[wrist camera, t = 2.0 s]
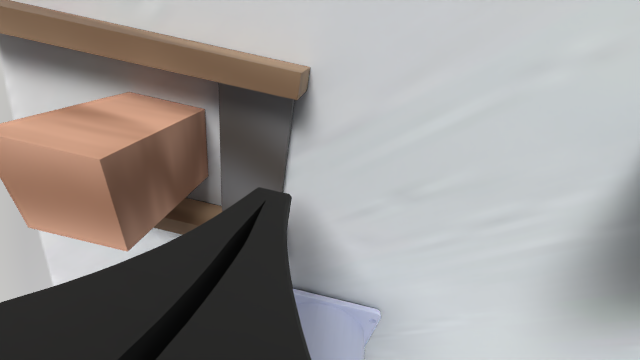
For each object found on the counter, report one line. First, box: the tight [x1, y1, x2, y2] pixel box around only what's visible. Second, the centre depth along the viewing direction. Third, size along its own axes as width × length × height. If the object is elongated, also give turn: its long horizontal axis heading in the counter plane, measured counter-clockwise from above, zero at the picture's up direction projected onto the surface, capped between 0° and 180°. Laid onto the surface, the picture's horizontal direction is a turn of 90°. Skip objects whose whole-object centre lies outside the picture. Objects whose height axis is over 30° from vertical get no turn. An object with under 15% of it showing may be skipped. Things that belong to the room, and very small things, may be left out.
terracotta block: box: [0, 92, 208, 251], centre depth 11 cm, size 4×4×6 cm
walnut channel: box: [0, 0, 310, 234], centre depth 13 cm, size 10×16×2 cm, turn 79°
